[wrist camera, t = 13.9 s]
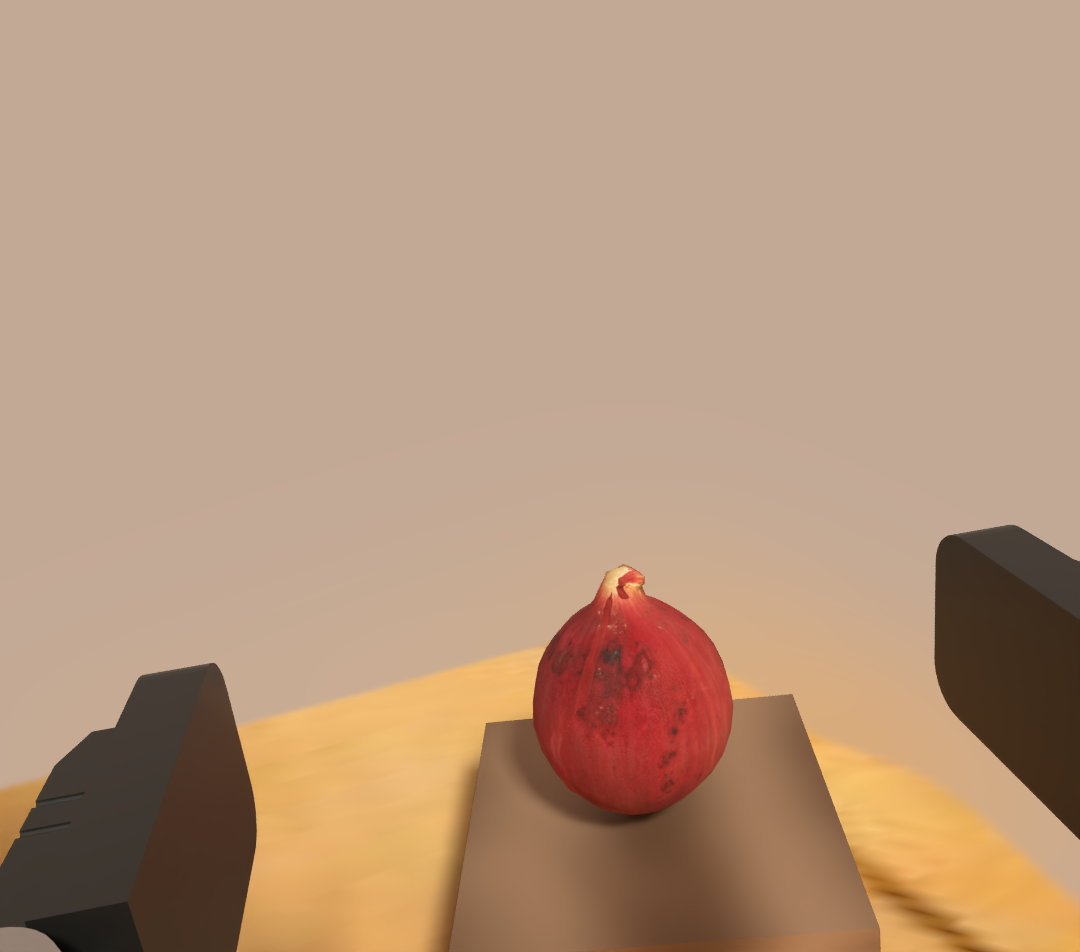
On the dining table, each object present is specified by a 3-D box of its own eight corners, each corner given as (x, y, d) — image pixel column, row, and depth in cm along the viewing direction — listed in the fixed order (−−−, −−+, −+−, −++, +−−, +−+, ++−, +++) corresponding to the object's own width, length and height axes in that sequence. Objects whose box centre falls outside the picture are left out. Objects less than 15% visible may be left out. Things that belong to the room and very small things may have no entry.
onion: (716, 893, 27) (692, 628, 24) (521, 860, 29) (479, 614, 26) (756, 764, 32) (739, 533, 29) (586, 744, 34) (557, 528, 31)
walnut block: (477, 1103, 27) (446, 960, 26) (505, 836, 38) (486, 722, 36) (884, 1078, 26) (879, 928, 25) (799, 811, 37) (792, 694, 35)
